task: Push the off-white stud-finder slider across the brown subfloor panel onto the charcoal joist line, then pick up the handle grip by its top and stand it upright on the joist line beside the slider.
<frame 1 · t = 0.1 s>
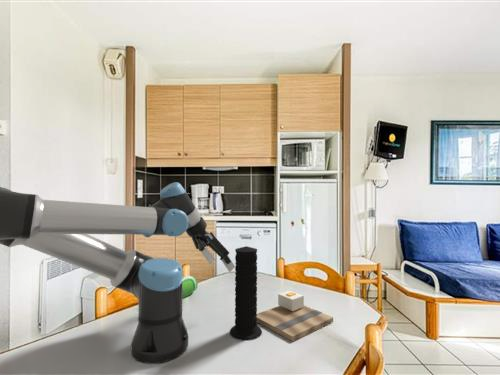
hand: (221, 265, 106), 15 cm above the table, tool tilted 35°, fingers open, 13 cm apart
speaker: (177, 299, 114), on the table
handle grip: (245, 332, 87), on the table
subfloor panel: (292, 320, 94), on the table
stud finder: (290, 299, 102), point 4 cm above the table, slide at 0.0 cm
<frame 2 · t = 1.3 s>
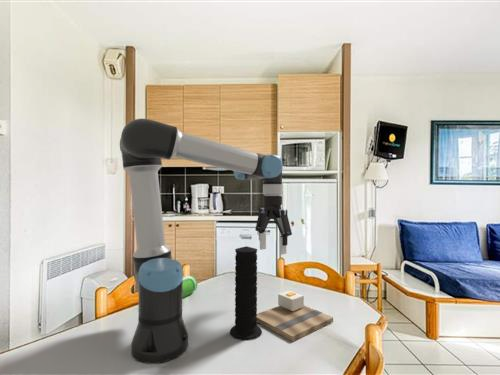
hand: (272, 251, 109), 20 cm above the table, tool pointing down, fingers open, 11 cm apart
nothing on the table moved.
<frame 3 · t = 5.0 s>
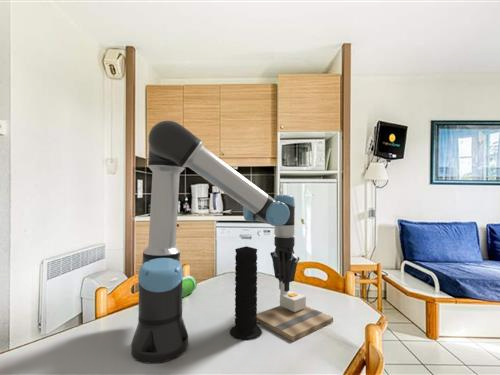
hand: (284, 299, 104), 3 cm above the table, tool pointing down, fingers closed
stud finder: (292, 300, 101), point 4 cm above the table, slide at 0.9 cm, touching gripper
everything else where it was.
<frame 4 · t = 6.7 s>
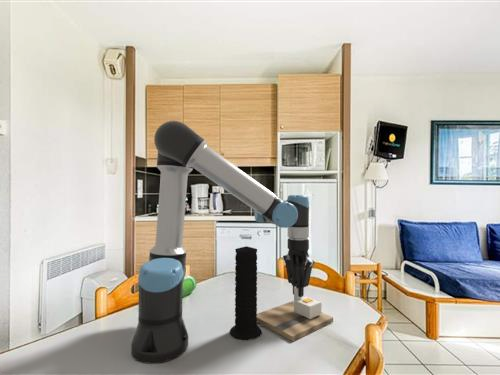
hand: (298, 304, 99), 3 cm above the table, tool pointing down, fingers closed
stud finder: (307, 306, 96), point 4 cm above the table, slide at 7.7 cm, touching gripper
everything else where it was.
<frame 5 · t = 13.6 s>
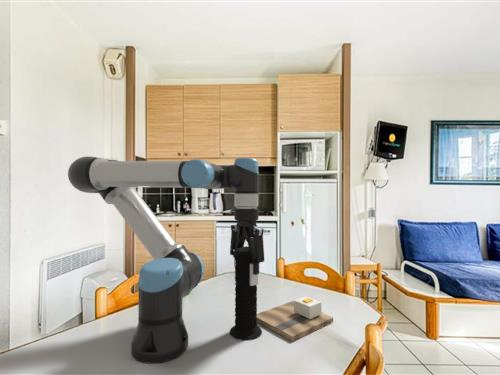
hand: (246, 281, 87), 16 cm above the table, tool pointing down, fingers closed on handle grip, 7 cm apart
handle grip: (245, 332, 87), on the table, touching gripper
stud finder: (307, 306, 96), point 4 cm above the table, slide at 7.7 cm
everything else where it was.
when the fingers open (18 cm above the table, at t = 19.3 s): handle grip stays where it is, resting on subfloor panel.
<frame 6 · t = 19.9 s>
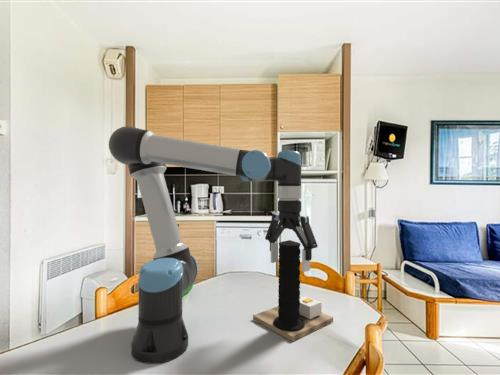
hand: (289, 266, 89), 20 cm above the table, tool pointing down, fingers open, 13 cm apart
handle grip: (288, 324, 89), point 1 cm above the table, touching subfloor panel
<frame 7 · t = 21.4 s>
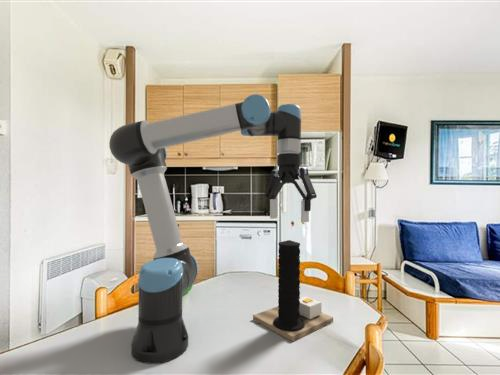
hand: (288, 220, 89), 34 cm above the table, tool pointing down, fingers open, 13 cm apart
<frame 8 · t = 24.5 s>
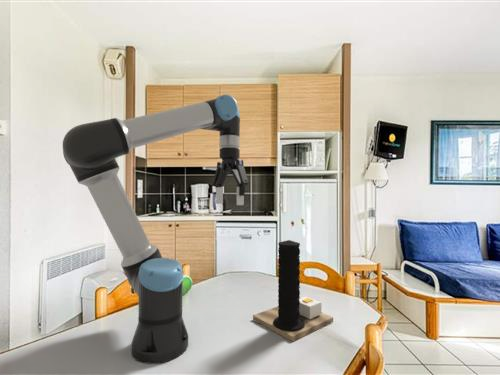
hand: (229, 204, 105), 39 cm above the table, tool pointing down, fingers open, 13 cm apart
at the end: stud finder slide at 7.7 cm; handle grip inside the target area (0.1 cm from its centre), point 1.4 cm above the table; handle grip tilted 0° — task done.
